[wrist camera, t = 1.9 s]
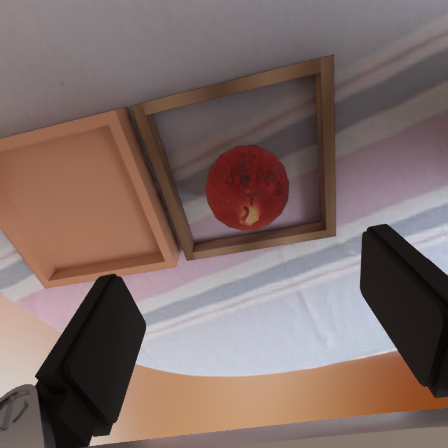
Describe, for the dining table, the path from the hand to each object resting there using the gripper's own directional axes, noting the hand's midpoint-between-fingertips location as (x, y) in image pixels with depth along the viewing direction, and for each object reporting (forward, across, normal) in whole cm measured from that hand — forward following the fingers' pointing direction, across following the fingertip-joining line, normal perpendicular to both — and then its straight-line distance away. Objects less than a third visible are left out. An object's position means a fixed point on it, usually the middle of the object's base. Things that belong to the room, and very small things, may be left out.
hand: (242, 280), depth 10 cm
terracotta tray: (+14, +14, 0) cm, 19 cm away
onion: (+13, -1, 0) cm, 13 cm away
